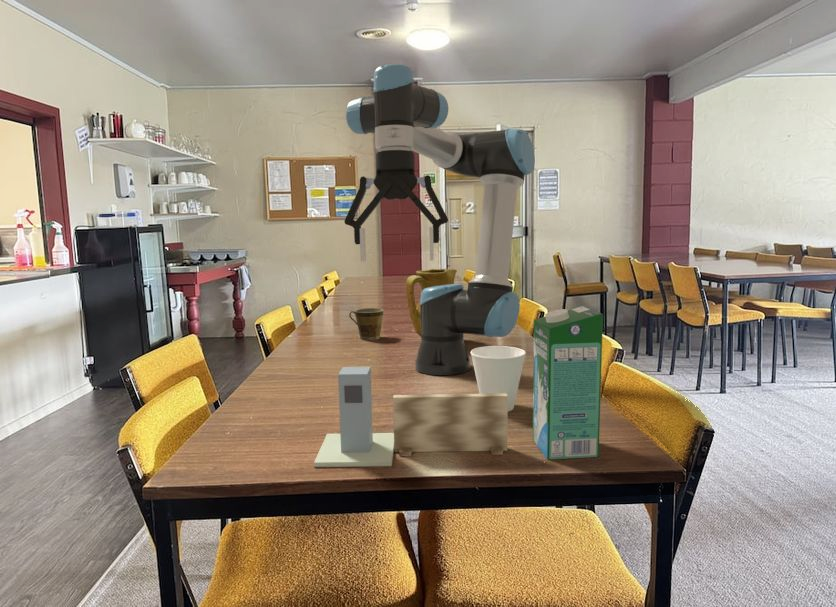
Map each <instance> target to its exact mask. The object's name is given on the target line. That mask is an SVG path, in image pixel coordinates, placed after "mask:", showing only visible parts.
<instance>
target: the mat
mask: <svg viewBox="0 0 836 607" xmlns="http://www.w3.org/2000/svg"><path fill="white" fill-rule="evenodd" d="M320 446H321V447H320V449H319V451H318V453H317V455H316V458H315V459H314V461H313V467H314V468H338V467H339V468H347V467H392V466H393V459H394V453H395V452H394V432H373V443H372V446H371V450H370V452H341V435H340V433H326V435H325V438H324V440H323V442H322V444H321V445H320Z"/></svg>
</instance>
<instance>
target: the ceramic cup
mask: <svg viewBox="0 0 836 607" xmlns="http://www.w3.org/2000/svg"><path fill="white" fill-rule="evenodd" d="M352 314H354V315H355V316H354V317H355V319H356V320H355V319H354V318H353V317H352ZM348 316H349V318H350V320H352V321H353V323H355V324H356V326H357V329H358V333H359V338H360V340H363V341H375V340H379V339H380V337H381V331H382V323H383V318H384V309H382V308H378V307H377V308H376V307H369V308H368V307H367V308H359V309H355V310H353V311H352V310H351V311H350V312H349V315H348Z"/></svg>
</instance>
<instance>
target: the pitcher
mask: <svg viewBox="0 0 836 607" xmlns="http://www.w3.org/2000/svg"><path fill="white" fill-rule="evenodd" d="M457 271H458V270H457V269H454V268H430V269H425V270H417V271H415V274H416V275H415V274H414V275H410V276H408V277H407V278H406V282H405V291H406V299H407V300H406V301H407V307H408V308H409V317H410V318H411V321H412V322H411V323H412V326H413V327H414V332H415V334H417V335H418V336H419V337H421V308H420V300H421V292H422V290H423V289H425V288H428V287H434V286H441V285H449V284H455V278H456V273H457ZM417 283H418V284H419V285H420V286H419V287H420V290H419V291H420V292H419V298H418V302H417V305H416V301H415V300H416V299H415V294H414V293H415V285H416V284H417Z"/></svg>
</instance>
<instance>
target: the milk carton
mask: <svg viewBox="0 0 836 607" xmlns="http://www.w3.org/2000/svg"><path fill="white" fill-rule="evenodd" d="M603 323H604V313H601V312H600V311H596V310H595V309H591V308H589V307H588V306H587V307H586V306H584V305H580V306H577V307H572V308H569V309H564V308H561V309H556V310H551V311H548V312H546V313H545V315H544V316H542V317H538V318H535V319H533V376H532V377H533V382H532V383H533V384H532V387H533V388H532V392H533V393H532V396H533V397H532V441H533V442H534V444H536V446H537V448H538V449H539V450H540V451H541V452H542V454H543V455H544V457H545V458H546V459H547V460H563V459H564V460H565V459H583V458H585V459H586V458H598V457H599V454H600V426H601V425H600V424H601V423H600V422H601V391H602V390H601V389H602V386H601V385H602V361H603V360H602V357H603V356H602V355H603V330H604V329H603V325H604V324H603Z"/></svg>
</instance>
